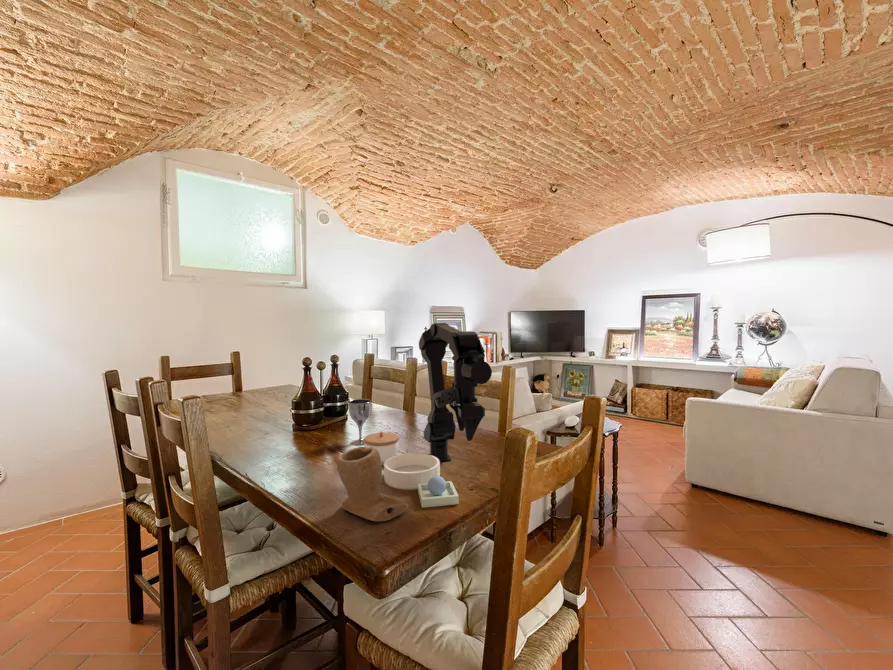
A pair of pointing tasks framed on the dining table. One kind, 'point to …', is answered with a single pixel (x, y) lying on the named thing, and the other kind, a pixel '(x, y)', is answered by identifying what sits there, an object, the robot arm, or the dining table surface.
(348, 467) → the tan boot vase
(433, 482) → the ball
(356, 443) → the wine glass
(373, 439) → the lidded jar
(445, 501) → the tray
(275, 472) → the dining table surface
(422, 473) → the bowl
